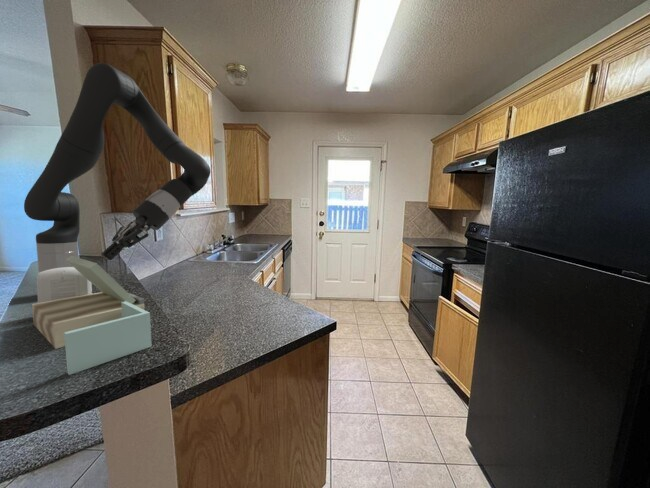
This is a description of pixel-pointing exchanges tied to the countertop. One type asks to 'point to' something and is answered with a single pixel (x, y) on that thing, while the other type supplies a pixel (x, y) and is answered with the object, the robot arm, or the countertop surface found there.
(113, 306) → the block
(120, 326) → the l-shaped corner panel
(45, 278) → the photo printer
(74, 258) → the sage green flat slab
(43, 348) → the countertop surface
